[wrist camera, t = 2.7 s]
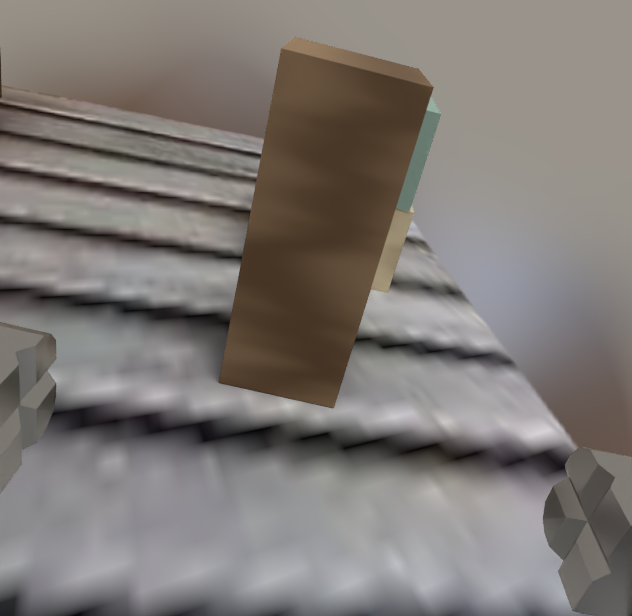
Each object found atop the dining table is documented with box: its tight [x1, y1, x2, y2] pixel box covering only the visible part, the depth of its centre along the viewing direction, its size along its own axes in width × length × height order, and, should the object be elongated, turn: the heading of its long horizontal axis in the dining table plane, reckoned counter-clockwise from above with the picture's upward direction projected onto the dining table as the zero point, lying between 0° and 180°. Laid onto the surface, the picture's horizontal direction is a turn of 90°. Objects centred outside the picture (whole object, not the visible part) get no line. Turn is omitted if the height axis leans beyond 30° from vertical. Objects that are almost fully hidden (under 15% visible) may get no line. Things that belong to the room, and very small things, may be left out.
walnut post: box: [219, 37, 434, 408], centre depth 22 cm, size 4×4×12 cm
